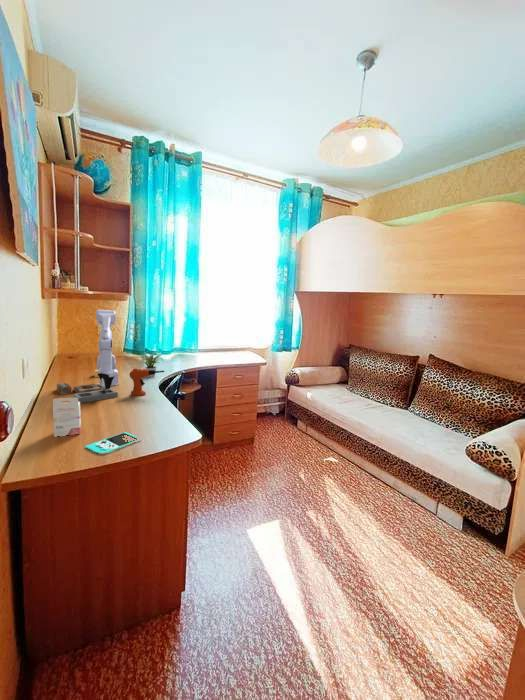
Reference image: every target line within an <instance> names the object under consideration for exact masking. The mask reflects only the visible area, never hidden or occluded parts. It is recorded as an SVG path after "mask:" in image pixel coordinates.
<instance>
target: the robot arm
mask: <svg viewBox="0 0 525 700" xmlns="http://www.w3.org/2000/svg"><path fill="white" fill-rule="evenodd" d="M116 311H117V310H114V309H111V310H110V309H96V311H95V317H96V323H97V324H98V325H99V326H101V330H99V340H98V351H99V352H98V354H99V355H97V357H96V359H97V360H96V370H99V371H97V372H98V373H100V374H98V376H99V377H98V378H99V382H98V383H96V385H97V386H99V387H100V388H102V378H103V380H104V383H105V388H106V389H111V387H113V386H119V371H118V369H116V368H117V367H116V366H117V364H116V363H117V361H116V355H114V354H113V349H114V342H113V331H112V330H111V328H112V326H113V325H115V324H116V318H117V317H116Z"/></svg>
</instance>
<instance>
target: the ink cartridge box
mask: <svg viewBox="0 0 525 700" xmlns="http://www.w3.org/2000/svg"><path fill="white" fill-rule="evenodd" d="M65 401H67V402H65ZM81 415H82V414H81V403H80V402H78V398H77V397H76V398H74V397H61V398H53V399H52V421H53V425H52V426H53V437H54V438H58V437H57V436H60V437H67V436H66V435H70V436H76V435H75V434H79V435H81V431H82V416H81Z"/></svg>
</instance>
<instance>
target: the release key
mask: <svg viewBox="0 0 525 700" xmlns="http://www.w3.org/2000/svg"><path fill="white" fill-rule="evenodd" d="M64 383H65V382H59V383H58V384H59V385H61V386H62V387H68V386H67V385H65V384H64Z"/></svg>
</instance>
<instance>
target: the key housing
mask: <svg viewBox="0 0 525 700" xmlns="http://www.w3.org/2000/svg"><path fill="white" fill-rule="evenodd" d="M63 383H64V384H65V385H67V386H68V387H62V386H61V385H59V383H56V391H57V390H58V391H59V394H61V395H68V394H67V393H69V394H72V386H70V385H69V383H67V382H63ZM58 391H57V392H58Z"/></svg>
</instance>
